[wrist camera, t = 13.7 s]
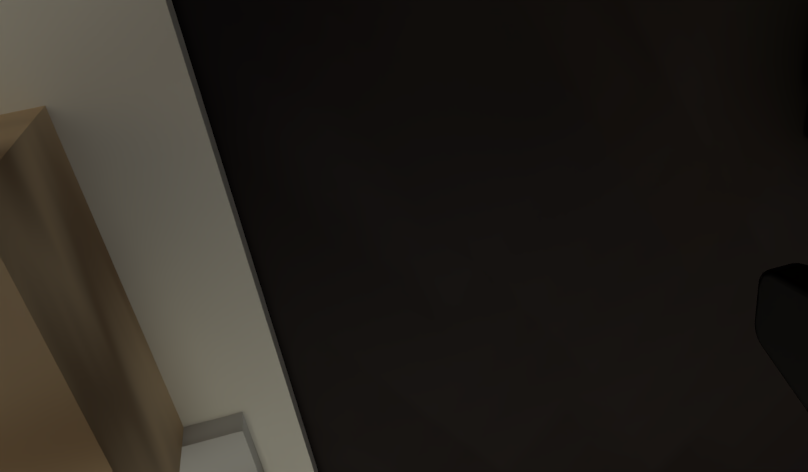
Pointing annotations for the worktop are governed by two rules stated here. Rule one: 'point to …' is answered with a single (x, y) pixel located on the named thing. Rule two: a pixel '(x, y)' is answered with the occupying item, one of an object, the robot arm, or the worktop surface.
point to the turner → (81, 336)
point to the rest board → (158, 203)
